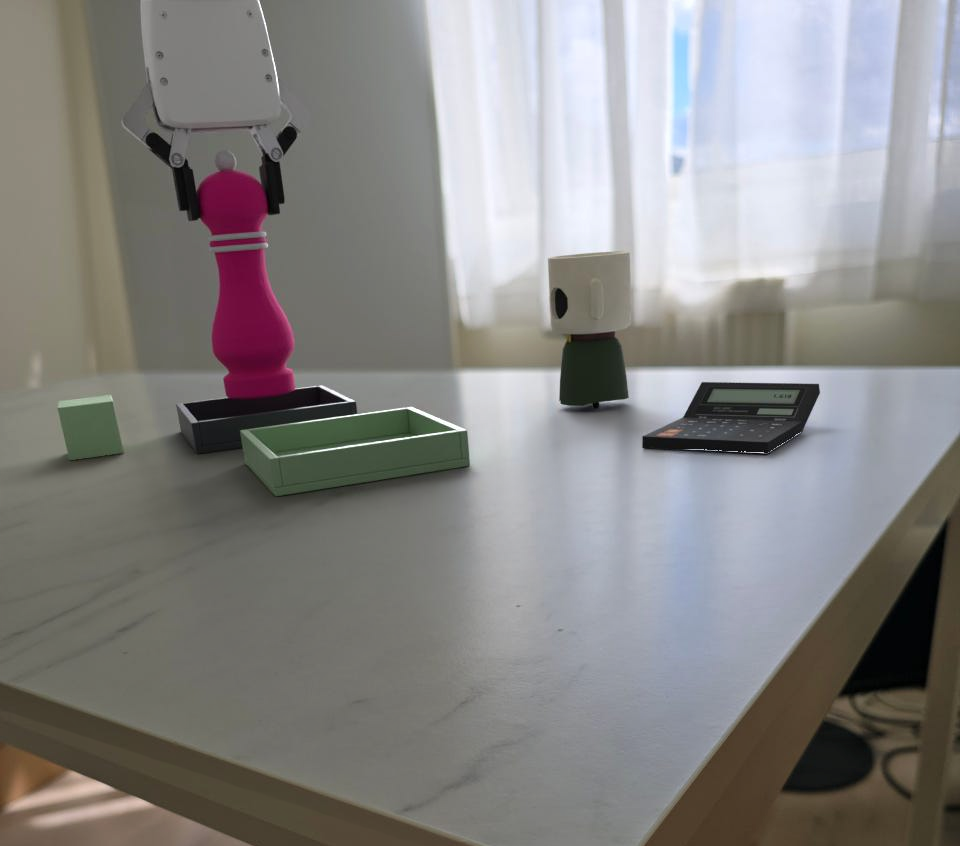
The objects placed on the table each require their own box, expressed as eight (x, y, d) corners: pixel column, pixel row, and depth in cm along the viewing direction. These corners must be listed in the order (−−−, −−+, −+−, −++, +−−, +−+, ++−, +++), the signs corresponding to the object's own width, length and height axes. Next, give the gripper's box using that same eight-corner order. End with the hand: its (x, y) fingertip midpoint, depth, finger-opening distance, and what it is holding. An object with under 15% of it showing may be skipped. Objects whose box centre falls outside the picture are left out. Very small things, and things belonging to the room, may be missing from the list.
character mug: (550, 400, 98) (543, 256, 93) (624, 394, 98) (621, 249, 93) (559, 420, 88) (552, 259, 83) (642, 413, 88) (639, 252, 83)
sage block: (69, 460, 87) (57, 407, 86) (69, 452, 91) (57, 401, 90) (123, 453, 89) (113, 400, 87) (121, 445, 93) (110, 394, 91)
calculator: (642, 447, 75) (641, 406, 74) (703, 418, 84) (703, 381, 83) (767, 454, 70) (768, 410, 69) (818, 422, 79) (820, 382, 78)
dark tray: (196, 454, 86) (191, 423, 85) (180, 431, 97) (175, 403, 96) (359, 430, 90) (356, 401, 89) (325, 411, 102) (322, 385, 101)
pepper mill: (240, 388, 97) (203, 156, 89) (312, 385, 95) (280, 148, 88) (206, 401, 90) (163, 152, 83) (283, 398, 89) (246, 143, 81)
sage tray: (275, 496, 69) (269, 458, 68) (245, 462, 81) (239, 430, 80) (470, 465, 74) (467, 430, 73) (415, 438, 85) (412, 406, 84)
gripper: (294, -19, 86) (323, 212, 93) (80, -18, 81) (126, 226, 88) (313, -42, 80) (343, 208, 86) (81, -43, 74) (132, 223, 81)
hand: (233, 215), depth 87 cm, fingers closed on pepper mill, 6 cm apart
